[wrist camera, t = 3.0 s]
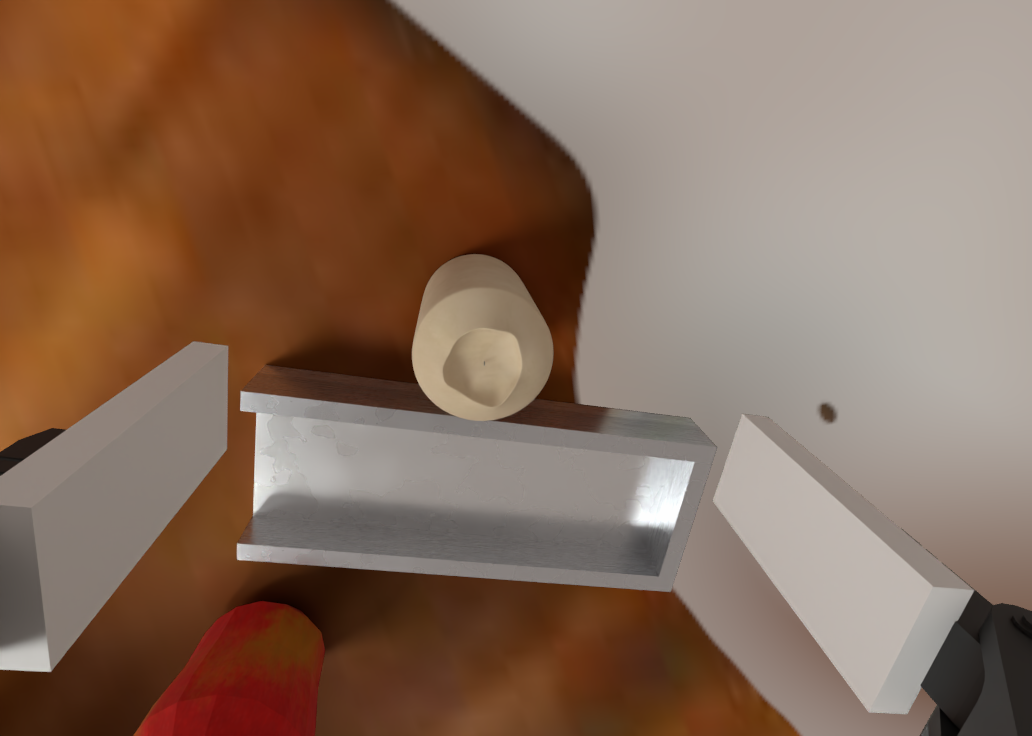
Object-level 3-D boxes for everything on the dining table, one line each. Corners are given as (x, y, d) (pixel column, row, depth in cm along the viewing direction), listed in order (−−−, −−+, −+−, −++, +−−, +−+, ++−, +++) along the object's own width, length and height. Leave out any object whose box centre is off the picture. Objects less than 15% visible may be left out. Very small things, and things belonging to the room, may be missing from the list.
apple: (212, 562, 34) (96, 757, 23) (355, 589, 35) (310, 783, 24) (190, 671, 36) (75, 894, 25) (324, 691, 38) (271, 909, 27)
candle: (533, 345, 31) (567, 424, 22) (433, 362, 31) (425, 449, 22) (519, 244, 29) (551, 283, 20) (413, 261, 29) (394, 309, 20)
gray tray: (259, 518, 33) (236, 559, 30) (265, 364, 30) (240, 391, 27) (650, 551, 37) (670, 591, 33) (690, 418, 34) (717, 447, 30)
